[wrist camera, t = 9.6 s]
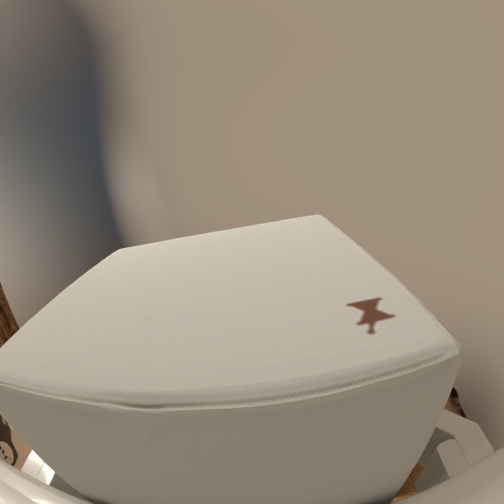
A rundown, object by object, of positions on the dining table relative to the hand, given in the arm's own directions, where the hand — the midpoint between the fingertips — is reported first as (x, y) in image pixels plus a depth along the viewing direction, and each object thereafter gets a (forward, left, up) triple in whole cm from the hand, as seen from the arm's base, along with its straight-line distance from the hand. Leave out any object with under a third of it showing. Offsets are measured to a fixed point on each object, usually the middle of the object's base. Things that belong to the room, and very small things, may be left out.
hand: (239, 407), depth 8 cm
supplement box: (0, -1, -8) cm, 8 cm away
